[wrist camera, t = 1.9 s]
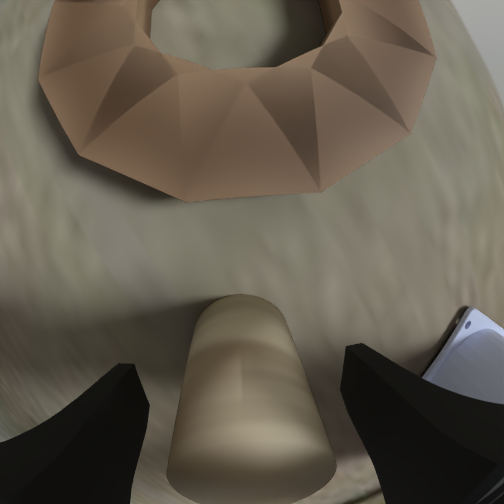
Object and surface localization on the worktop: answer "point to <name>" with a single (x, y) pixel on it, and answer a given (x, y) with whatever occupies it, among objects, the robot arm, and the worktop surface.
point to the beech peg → (247, 412)
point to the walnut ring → (235, 99)
